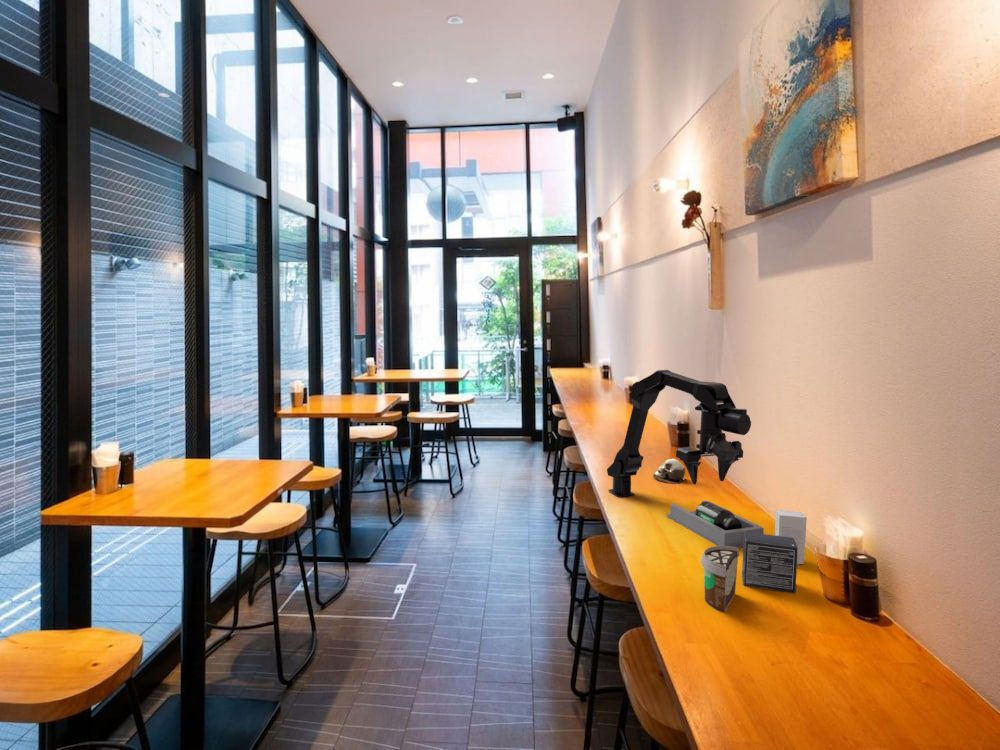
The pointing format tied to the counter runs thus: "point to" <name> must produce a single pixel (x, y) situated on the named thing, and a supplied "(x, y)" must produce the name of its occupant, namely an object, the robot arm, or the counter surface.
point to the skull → (670, 472)
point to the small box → (769, 562)
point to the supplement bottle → (718, 516)
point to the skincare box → (792, 529)
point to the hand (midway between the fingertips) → (708, 482)
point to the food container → (720, 575)
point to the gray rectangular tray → (713, 527)
